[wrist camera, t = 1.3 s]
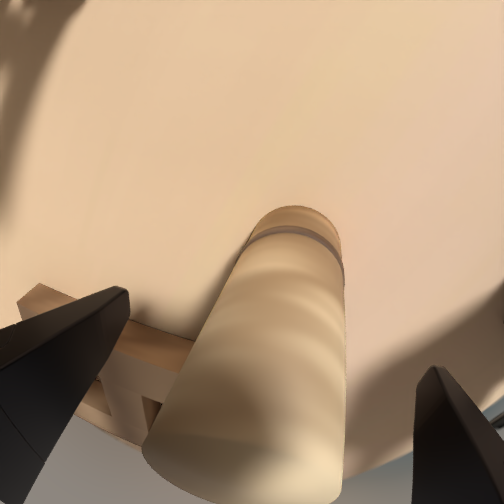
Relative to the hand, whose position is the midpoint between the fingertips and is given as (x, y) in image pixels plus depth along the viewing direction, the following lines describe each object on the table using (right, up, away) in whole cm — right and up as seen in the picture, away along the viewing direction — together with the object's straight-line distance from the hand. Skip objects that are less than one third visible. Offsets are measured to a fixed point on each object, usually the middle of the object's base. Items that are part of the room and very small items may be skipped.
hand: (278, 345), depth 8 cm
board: (-9, -7, +12) cm, 16 cm away
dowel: (+1, +3, +5) cm, 6 cm away
